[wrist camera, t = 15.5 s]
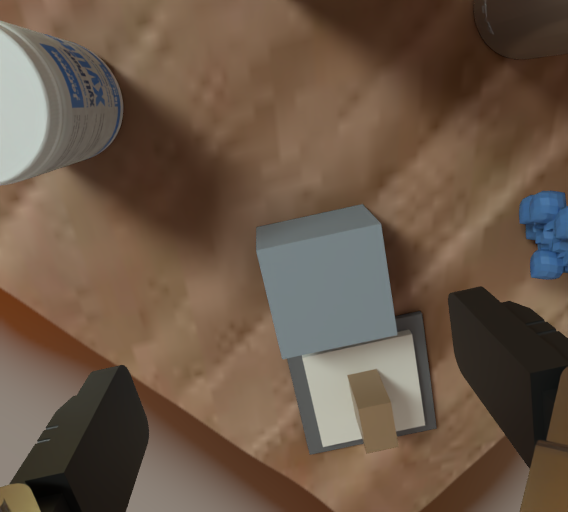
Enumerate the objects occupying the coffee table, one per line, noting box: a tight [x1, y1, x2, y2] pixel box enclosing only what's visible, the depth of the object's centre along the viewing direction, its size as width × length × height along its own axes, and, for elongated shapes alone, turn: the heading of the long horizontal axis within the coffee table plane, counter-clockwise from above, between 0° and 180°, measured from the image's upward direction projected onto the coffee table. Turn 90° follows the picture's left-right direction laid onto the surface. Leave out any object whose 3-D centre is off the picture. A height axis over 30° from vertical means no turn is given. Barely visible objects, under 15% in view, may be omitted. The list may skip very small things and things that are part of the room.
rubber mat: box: [287, 311, 436, 455], centre depth 50 cm, size 14×14×1 cm
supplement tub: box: [0, 21, 123, 185], centre depth 33 cm, size 10×10×15 cm
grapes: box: [519, 191, 568, 280], centre depth 40 cm, size 12×7×12 cm, turn 44°
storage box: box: [256, 204, 397, 359], centre depth 42 cm, size 10×10×7 cm
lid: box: [302, 330, 425, 453], centre depth 47 cm, size 11×11×6 cm
